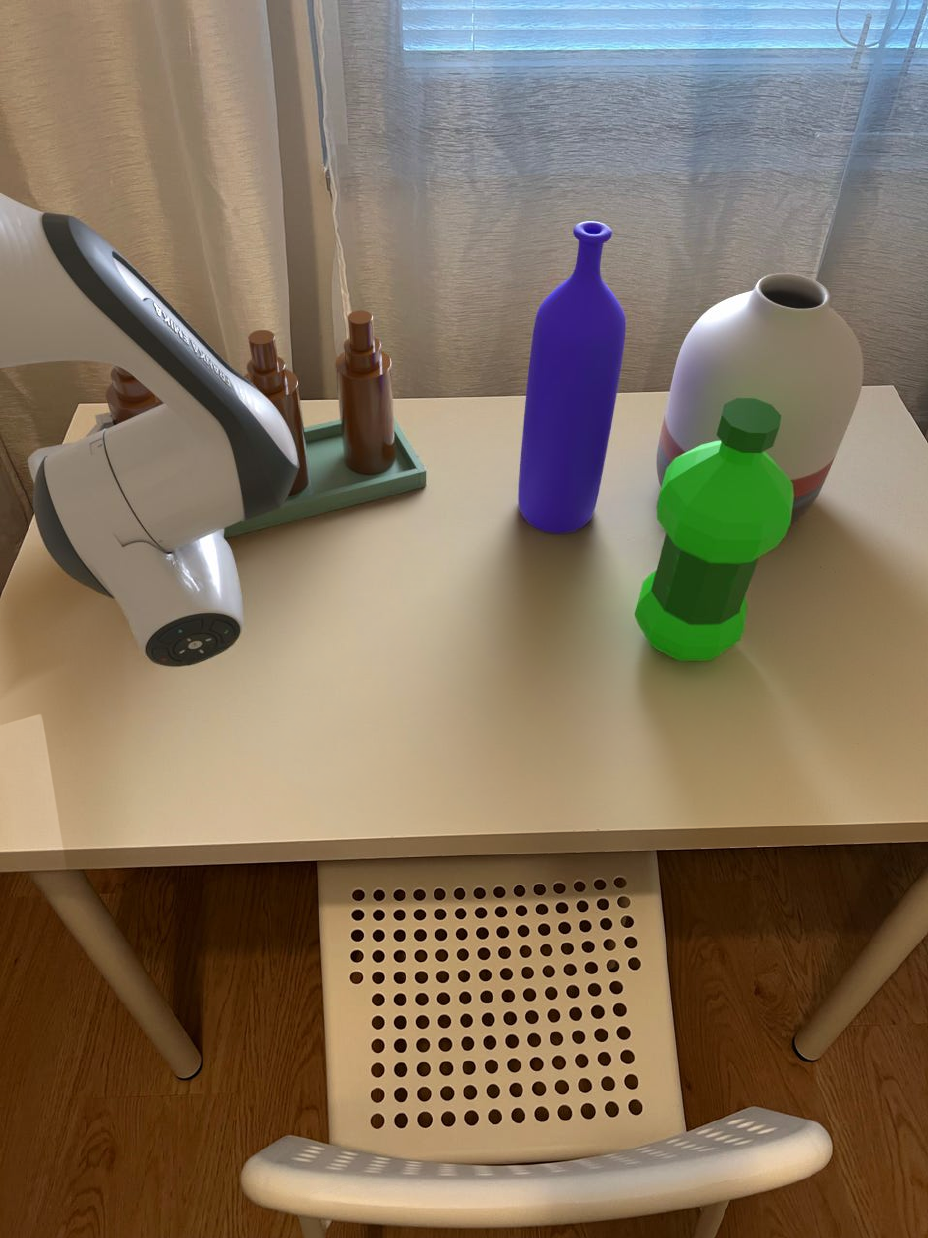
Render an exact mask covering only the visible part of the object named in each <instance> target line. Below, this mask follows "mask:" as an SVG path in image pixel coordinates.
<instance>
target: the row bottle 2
mask: <svg viewBox="0 0 928 1238" xmlns="http://www.w3.org/2000/svg"><path fill="white" fill-rule="evenodd" d="M347 328H348V329H347V330H348V338H347V339H345V341H344V342H343V352H341V353H340V354H339V355H338V356H337V358H336V359H335V363H334V365H335V367H334V369H335V378H336V387H337V388H336V389H337V398H338V399H337V400H338V409H339V410H338V411H339V419H340V421H341V432H342V443H343V454H344V462H345V464H346V466H347V467H348V468H349V469H350V470H352V471H353V472H355V473H358V474H363V475H375V474H379V473H382V472H385V471H387V470H388V469H389V468H391V467H392V465H393V464H394V462H395V440H394V418H395V417H394V393H393V392H394V391H393V390H394V389H393V371H392V370H393V369H392V367H393V366H392V359H391V357H390V356H389V354H388V353H386V352H385V351H382V344H381V341H380V340H379V339H378V338H377V337H375V327H374V315H373V314H372V313H371V312H370V311H367V310H361V309H359V310H353V311H352V312H350V313H349V314H348V315H347Z"/></svg>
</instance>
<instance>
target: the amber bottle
mask: <svg viewBox="0 0 928 1238" xmlns="http://www.w3.org/2000/svg"><path fill="white" fill-rule="evenodd" d="M110 378H111V381H112V383H111V384H109V385H108V387H107V388H106V389H105V393H104V394H105V400H106V403H107V406H108V410H109V413H110V412H111V416H112V418H113V421H114V424H115V425H117V424H119V423H121V422H124V421H126V420H128V419H130V418H133V417H135V416H137V415H139V414H142V413H144V412H146V411H148V410H150V409H153V408H155V407H157V406H159V405H161V404H164V402H162V401H161V400H160V399H159V398H158V397H157V396H156V395H155V394H153V393H152V392H151V391H150V390H149V389H148V388H147V387H145V386H144V385H143V384H142V383H141V382H140V381H139V380H138V379H136V378H135V377H134V376H133V375H132V374H131V373H129V372H128V371H126V370H125V369H123V368H121V367H118V366H115V365H114V367H113V368H112V369H111V371H110Z"/></svg>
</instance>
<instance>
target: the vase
mask: <svg viewBox="0 0 928 1238" xmlns="http://www.w3.org/2000/svg"><path fill="white" fill-rule="evenodd" d="M830 304H831V294H830V291H829V290H828V288H827V287H826V286H824V285H823V284H822V283H820V282H819V281H817V280H816V279H813V278H811V277H809V276H806V275H802V274H797V273H790V272H779V273H772V274H771V273H770V274H768V275H766V276H763V277H762V278H761V279H759V280H758V282H757V283H756V284H755V287H754V289H753V290H750V291H746V292H743V293H739V294H736V295H734V296H730V297H729V298H726V299H724V300H722V301H720V302H718V303H716V304H715V305H714V306H712V307H710V308H709V309H708V310H706V311H705V312H704V313H703V314H702V315H701V316H700V317H699V319H698V320H697V321H696V322H695V323H694V324H693V326H692V327H691V329H690V330H689V332H688V333H687V335H686V336H685V338H684V340H683V342H682V345H681V347H680V350H679V353H678V356H677V359H676V362H675V366H674V371H673V375H672V380H671V383H670V388H669V393H668V397H667V401H666V406H665V411H664V415H663V420H662V425H661V429H660V434H659V439H658V445H657V451H656V462H655V463H656V474H657V478H658V482H659V486H660V488H661V487H662V484H663V480H664V476H665V473H666V469H667V467H668V466H669V465H670V464H671V463H672V461H673V460H674V459H675V458H676V457H678V456H680V455H682V454H684V453H686V452H688V451H690V450H692V449H694V448H696V447H698V446H700V445H702V444H706V443H710V442H714V441H721V440H720V439H719V437H718V436H717V435H716V434H717V430H718V425H719V422H720V418H721V415H722V411H723V407H724V404H726V403H728V402H730V401H732V400H734V399H736V398H755V399H758V400H760V401H763V402H766V403H768V404H771V405H772V406H773V407H774V408H775V409H776V410H777V411H778V412H779V414H780V415H781V421H780V427H779V430H778V433H777V436H776V439H775V442H774V445H773V447H771V448H769V449H767V450H765V451H764V452H765V453H766V454H767V455H768V456H769V457H770V458H772V459H773V461H774V462H775V463H776V464H777V465H778V467H779V468H780V469H781V470H782V471H783V473H784V474H785V475H786V476H787V477H788V478H789V480H790V481H791V482H792V483H793V493H794V499H793V507H792V514H791V522H790V525H789V527H790V526H791V525H793V524H795V522H797V521H798V520H799V519H801V518H802V517H803V516H804V515H805V514H806V513H807V512H808V511H809V510H810V508H811V507H812V506H813V504H814V503H815V502H816V500H817V498H818V497H819V495H820V493H821V491H822V488H823V486H824V484H825V482H826V480H827V477H828V475H829V472H830V471H831V468H832V465H833V463H834V461H835V458H836V456H837V454H838V451H839V449H840V446H841V444H842V441H843V439H844V437H845V434H846V431H847V429H848V427H849V424H850V422H851V420H852V418H853V415H854V413H855V409H856V407H857V404H858V401H859V398H860V395H861V392H862V388H863V382H864V381H863V380H864V358H863V353H862V348H861V345H860V342H859V340H858V338H857V336H856V334H855V333H854V331H853V330H852V328H851V326H849V324H848V323H847V322H846V321H845V320H844V319H843V317H842V316H841V315H839V313H837V312H836V311H835V310H834V309H833V308H832V307H831V306H830Z"/></svg>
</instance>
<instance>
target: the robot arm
mask: <svg viewBox="0 0 928 1238" xmlns="http://www.w3.org/2000/svg"><path fill="white" fill-rule="evenodd" d="M63 361H64V362H67V361H68V362H69V361H90V362H99V363H105V364H110V365H112V366H114V367H115V366H118V367H121V368H123V369H125V370H126V371H128V372H129V373H131V374H132V375H133V376H134V377H135V378H136V379H138V380H139V381H140V382H141V383H142V384H143V385H144V386H145V387H147V388H148V389H149V390H150V391H151V392H152V393H153V394H155V395H156V396H157V397H158V398H159V399H160V400H161V401H162V402H164V404H161V405H159V406H157V407H155V408H153V409H150V410H148V411H146V412H144V413H142V414H139V415H137V416H135V417H133V418H130V419H128V420H126V421H124V422H121V423H119V424H117V425H115V424H114V421H113V418H112V416H111V412H110V411H109V412H104V413H98V414H94V415H95V416H94V417H95V422H96V424H95V425H94V426H93V427H92V428H91V429H90V430H89V432H88V433H87V434H86V435H85V437H83V438H81V439H79V440H77V441H72V442H67V443H62V444H57V445H52V446H46V447H41V448H37V449H36V450H35V451H34V452H32V453H31V454H30V455H29V457H28V458H27V464H28V470H29V473H30V477H31V480H32V482H33V484H34V485H33V492H32V493H33V494H32V508H33V514H34V519H35V523H36V526H37V529H38V532H39V535H40V538H41V540H42V542H43V545H44V546H45V549H46V551H47V552H48V553H49V555H50V556H51V558H52V559H53V561H55V563H56V564H57V565H58V566H59V567H60V569H61V570H62V571H64V573H65V574H66V575H68V576H69V577H71V578H72V579H73V580H74V581H76V582H78V583H79V584H81V585H83V586H85V587H87V588H89V589H90V590H93V591H95V592H96V593H99V594H101V595H103V596H105V597H108V598H110V599H114V600H115V601H116V602H117V604H118V606H119V607H120V609H121V611H122V612H123V614H124V616H125V618H126V621H127V622H128V625H129V627H130V630H131V632H132V634H133V636H134V640H135V643H136V645H137V646H138V649H139V650H140V652H141V653H142V654H143V655H144V657H146V659H148V660H149V661H150V662H152V663H153V664H156V665H159V666H163V667H171V668H172V667H173V668H175V667H177V668H178V667H179V668H180V667H190V666H194V665H196V664H199V663H203V662H205V661H207V660H209V659H212V658H214V657H216V656H218V655H219V654H222V653H224V652H226V651H227V650H228V649H230V648H231V647H232V646H234V644H235V643H237V641H238V640H239V638H240V636H241V633H242V632H243V625H244V608H243V607H244V605H243V604H244V603H243V596H242V595H243V594H242V588H241V583H240V577H239V572H238V569H237V564H236V560H235V556H234V553H233V551H232V548H231V546H230V543H228V541H227V540H226V538H224V528H226V527H228V526H230V525H233V524H235V523H237V522H239V521H241V520H242V521H246V520H249V519H252V518H255V517H258V516H260V515H263V514H266V513H269V512H272V511H275V510H278V509H280V508H281V507H282V505H283V503H284V502H285V500H286V498H287V496H288V494H289V492H290V490H291V488H292V486H293V484H294V481H295V479H296V476H297V473H298V470H299V460H298V457H297V452H296V447H295V443H294V440H293V438H292V435H291V433H290V430H289V428H288V426H287V424H286V422H285V421H284V419H283V417H282V416H281V414H280V413H279V411H278V410H277V409H276V407H275V406H274V405H273V404H272V403H271V401H270V400H269V399H268V398H266V397H265V396H264V395H263V394H262V393H261V392H260V391H259V390H258V389H257V387H256V386H255V385H253V384H252V383H251V382H250V381H249V380H247V379H246V378H245V377H244V375H242V374H241V373H239V372H238V371H237V370H236V369H234V368H233V367H232V366H231V365H230V364H229V363H228V362H226V361H225V359H223V357H222V356H220V354H219V353H218V352H217V351H216V350H215V349H214V348H213V347H212V346H211V345H210V344H209V343H208V342H207V341H206V340H205V339H204V338H203V337H202V336H201V334H199V332H198V331H197V330H196V329H194V327H193V326H192V325H191V324H190V323H189V321H188V320H186V319H185V318H184V317H183V315H182V314H180V312H179V311H178V310H177V309H175V307H174V306H173V305H172V304H171V303H170V302H169V301H168V300H167V299H166V298H165V297H164V296H163V295H162V294H161V293H160V291H158V290H157V289H156V287H154V285H153V284H152V283H150V281H149V280H148V279H147V278H146V277H145V276H144V275H143V274H142V273H141V272H140V271H139V270H137V269H136V267H135V266H134V265H132V263H130V261H128V260H127V259H126V257H124V255H122V254H121V253H120V252H119V251H118V250H117V249H116V248H115V247H114V246H113V245H111V244H110V243H109V242H108V241H107V240H106V239H105V238H104V237H103V236H102V235H100V234H99V233H98V232H97V231H95V230H94V229H93V228H92V227H90V226H89V225H88V224H87V223H85V222H83V221H81V219H79V218H77V217H76V216H74V215H70V214H69V215H68V214H62V213H53V212H48V211H47V212H46V211H45V212H43V211H40V210H38V209H35V208H32V207H30V206H27V205H25V204H23V203H21V202H19V201H17V200H15V199H13V198H11V197H9V196H7V195H5V194H4V193H2V192H0V369H4V368H10V367H17V366H23V365H31V364H41V363H50V362H63Z"/></svg>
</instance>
